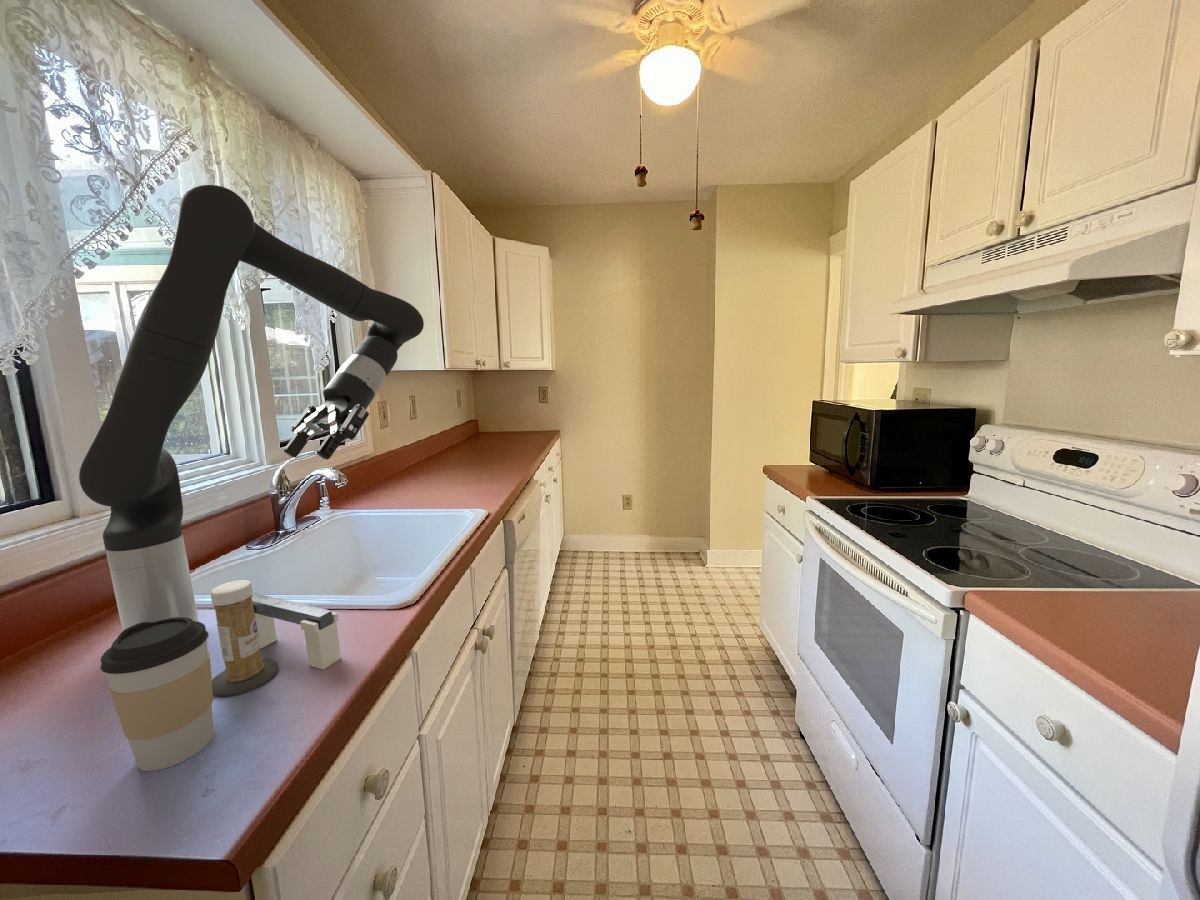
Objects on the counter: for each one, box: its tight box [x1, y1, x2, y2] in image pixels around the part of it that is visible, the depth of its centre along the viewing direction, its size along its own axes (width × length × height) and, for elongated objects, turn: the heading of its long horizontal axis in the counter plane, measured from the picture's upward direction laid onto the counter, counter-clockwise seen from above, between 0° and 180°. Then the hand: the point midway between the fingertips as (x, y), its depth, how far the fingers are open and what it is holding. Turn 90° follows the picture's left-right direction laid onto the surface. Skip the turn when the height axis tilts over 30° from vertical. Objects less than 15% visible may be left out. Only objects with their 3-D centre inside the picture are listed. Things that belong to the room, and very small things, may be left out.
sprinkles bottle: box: [210, 579, 264, 682], centre depth 68 cm, size 5×5×14 cm
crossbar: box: [251, 592, 333, 630], centre depth 75 cm, size 18×2×2 cm, turn 67°
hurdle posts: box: [254, 611, 342, 670], centre depth 75 cm, size 18×4×7 cm, turn 67°
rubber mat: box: [212, 657, 279, 698], centre depth 69 cm, size 8×8×1 cm
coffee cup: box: [99, 617, 215, 772], centre depth 55 cm, size 9×9×15 cm
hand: (305, 455), depth 81 cm, fingers open, 8 cm apart
